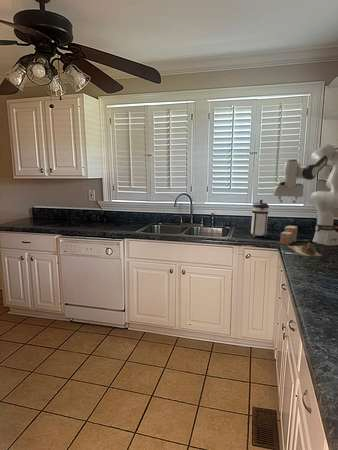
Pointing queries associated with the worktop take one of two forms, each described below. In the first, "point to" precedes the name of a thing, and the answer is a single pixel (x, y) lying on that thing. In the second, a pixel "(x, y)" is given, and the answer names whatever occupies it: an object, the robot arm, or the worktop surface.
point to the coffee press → (259, 219)
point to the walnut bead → (308, 250)
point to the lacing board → (299, 250)
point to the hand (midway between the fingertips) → (287, 202)
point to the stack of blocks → (289, 235)
